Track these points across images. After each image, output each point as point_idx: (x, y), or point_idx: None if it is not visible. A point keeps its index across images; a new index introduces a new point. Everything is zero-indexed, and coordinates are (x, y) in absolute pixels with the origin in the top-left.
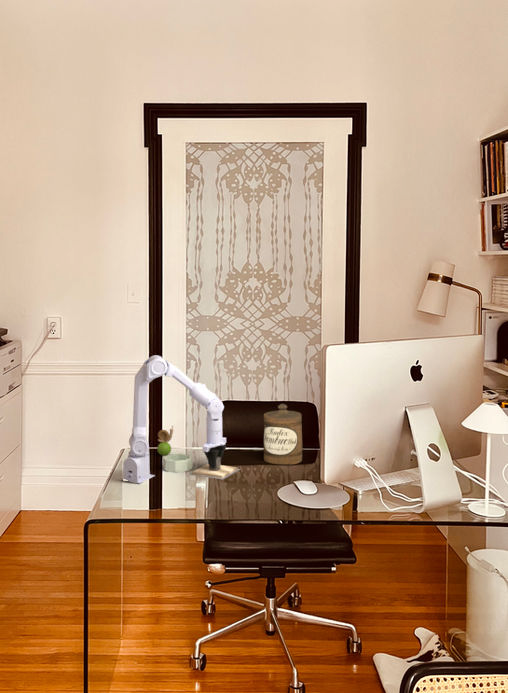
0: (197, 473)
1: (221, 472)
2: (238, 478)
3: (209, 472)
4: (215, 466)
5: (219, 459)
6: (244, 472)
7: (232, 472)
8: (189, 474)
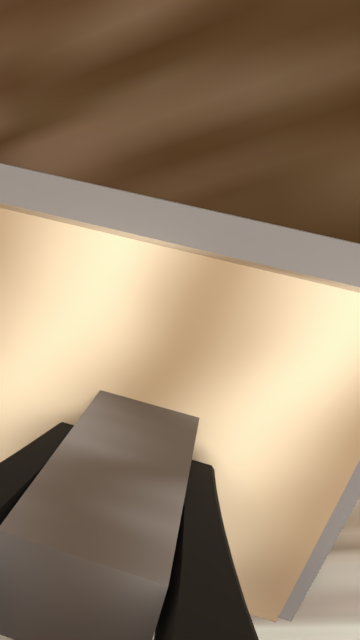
0: (293, 575)
1: (243, 351)
2: (325, 60)
3: (268, 482)
4: (196, 475)
5: (57, 504)
6: (16, 66)
7: (118, 223)
8: (286, 615)
